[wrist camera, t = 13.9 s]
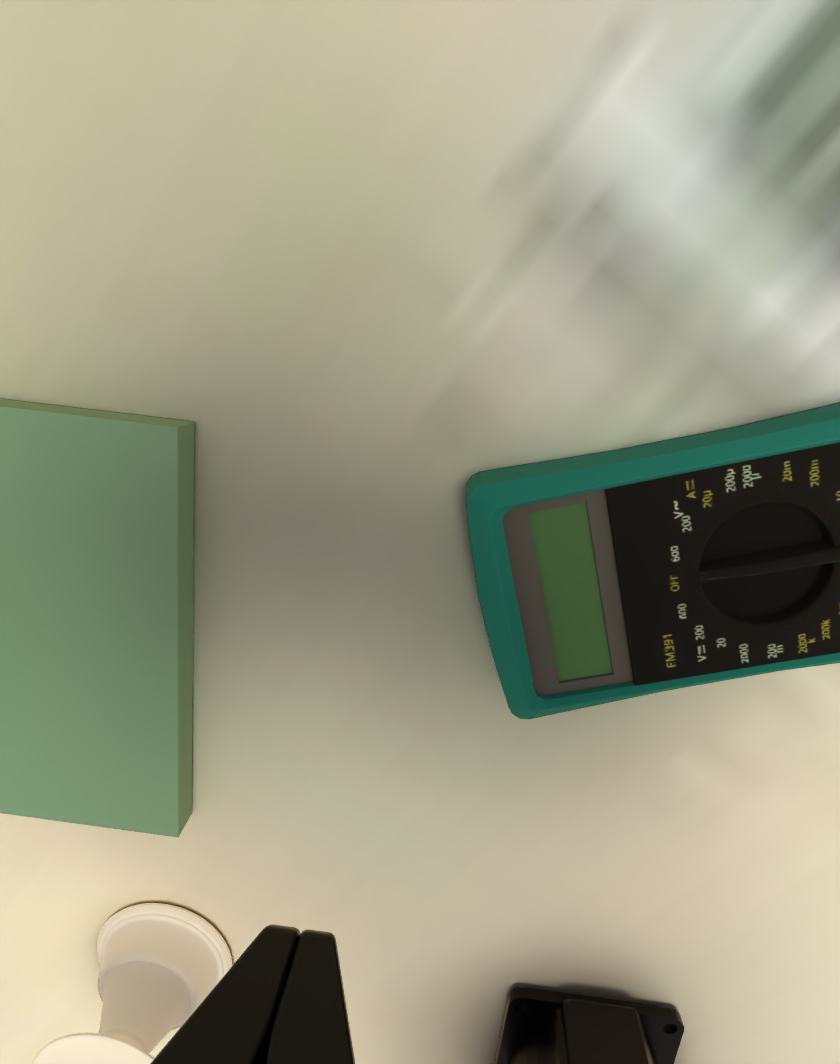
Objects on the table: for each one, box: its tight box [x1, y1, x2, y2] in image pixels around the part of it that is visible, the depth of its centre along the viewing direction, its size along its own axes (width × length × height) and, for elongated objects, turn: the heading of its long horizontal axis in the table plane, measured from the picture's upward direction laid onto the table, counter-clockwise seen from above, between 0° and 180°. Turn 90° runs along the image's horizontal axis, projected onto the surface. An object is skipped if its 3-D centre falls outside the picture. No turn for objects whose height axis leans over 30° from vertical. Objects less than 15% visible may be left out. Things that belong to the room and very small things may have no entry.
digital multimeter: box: [466, 403, 840, 719], centre depth 19 cm, size 7×15×3 cm, turn 103°
